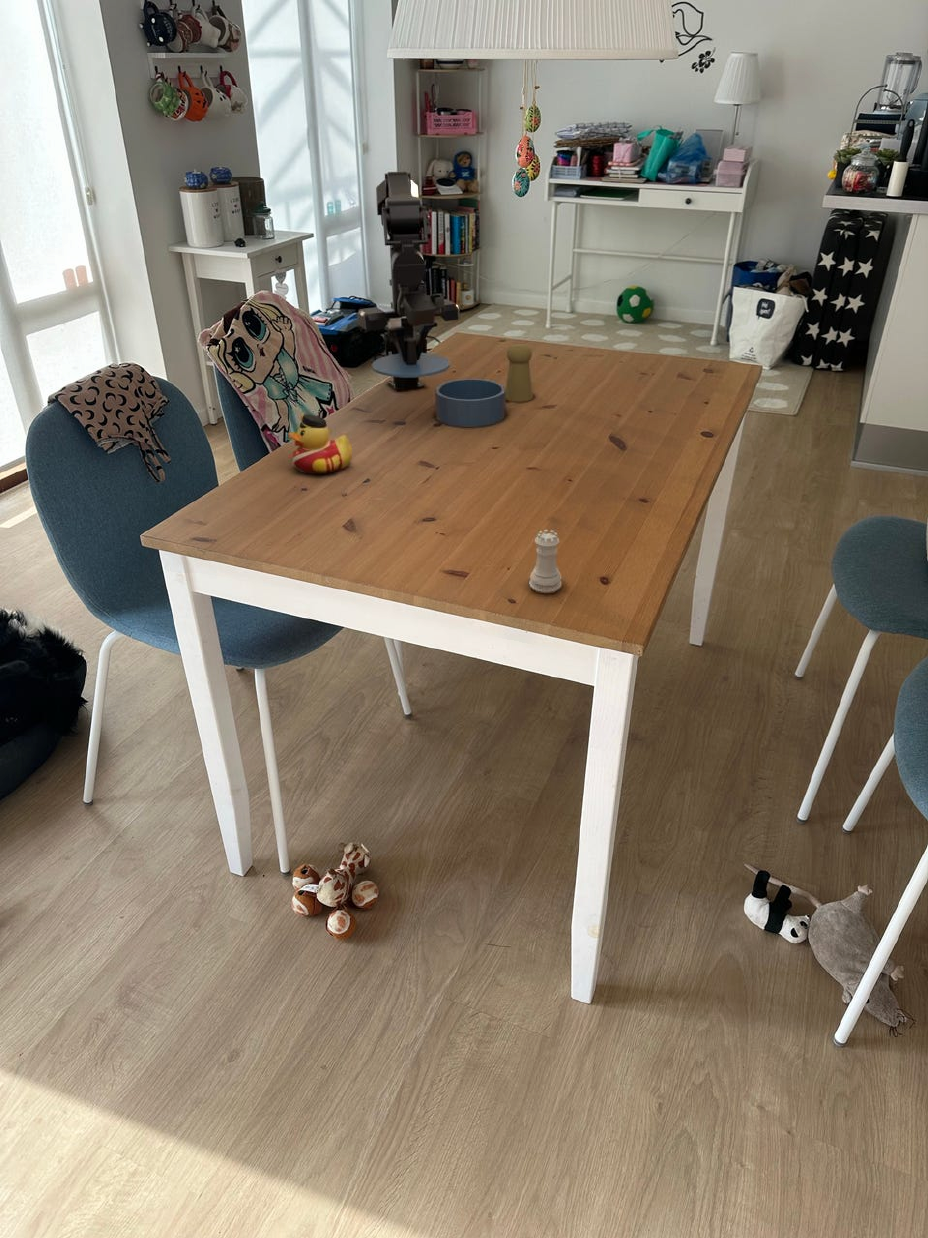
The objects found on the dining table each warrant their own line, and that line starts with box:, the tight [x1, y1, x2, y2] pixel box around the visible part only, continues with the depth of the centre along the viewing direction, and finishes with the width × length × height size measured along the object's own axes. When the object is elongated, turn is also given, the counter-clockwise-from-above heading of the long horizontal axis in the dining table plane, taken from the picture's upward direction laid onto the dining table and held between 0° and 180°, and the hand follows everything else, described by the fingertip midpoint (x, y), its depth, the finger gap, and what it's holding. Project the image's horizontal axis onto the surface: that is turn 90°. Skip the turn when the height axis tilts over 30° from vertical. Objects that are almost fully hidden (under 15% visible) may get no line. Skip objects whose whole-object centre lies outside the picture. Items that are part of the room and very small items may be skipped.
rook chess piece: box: [528, 529, 563, 594], centre depth 118 cm, size 4×4×8 cm
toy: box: [288, 413, 353, 475], centre depth 154 cm, size 9×11×10 cm
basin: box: [434, 378, 506, 428], centre depth 178 cm, size 14×14×5 cm
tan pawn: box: [505, 343, 534, 403], centre depth 186 cm, size 6×6×11 cm
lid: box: [371, 338, 451, 378], centre depth 169 cm, size 15×15×6 cm
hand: (410, 360), depth 169 cm, fingers closed on lid, 2 cm apart
